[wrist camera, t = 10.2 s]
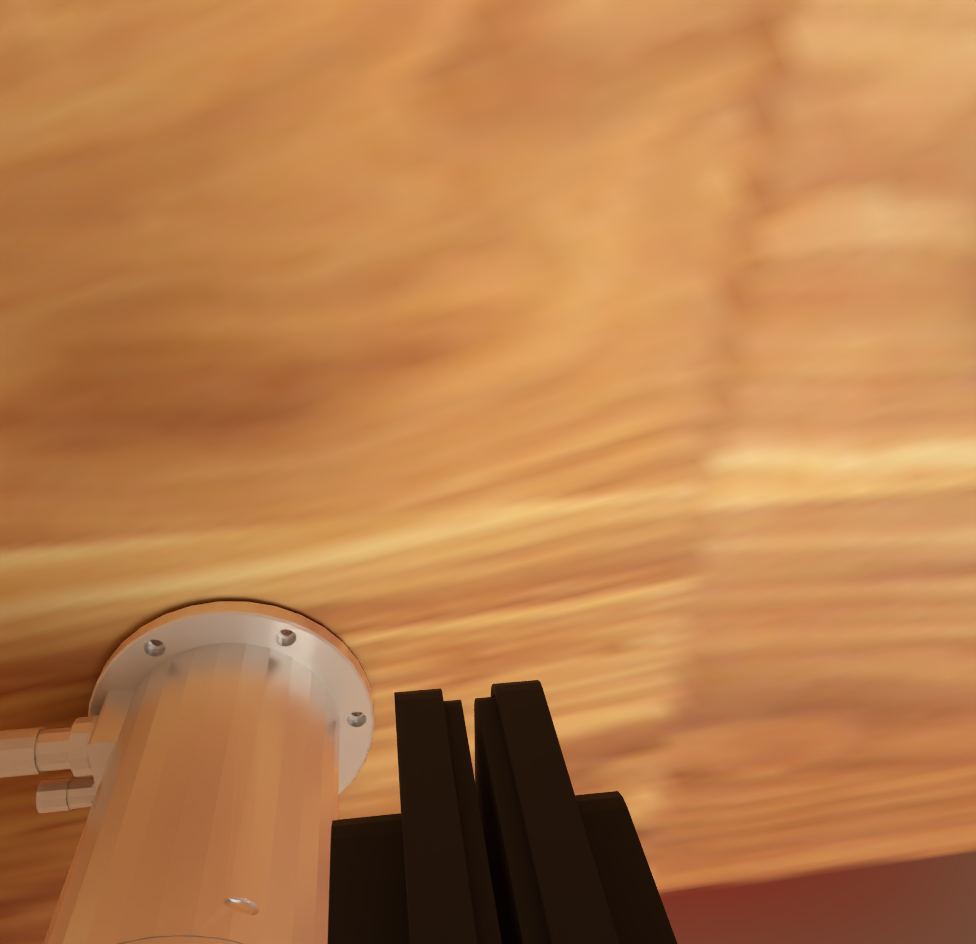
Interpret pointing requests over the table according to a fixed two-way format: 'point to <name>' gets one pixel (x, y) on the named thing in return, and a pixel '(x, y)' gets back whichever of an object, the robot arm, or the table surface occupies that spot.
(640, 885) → the robot arm
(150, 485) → the table surface
